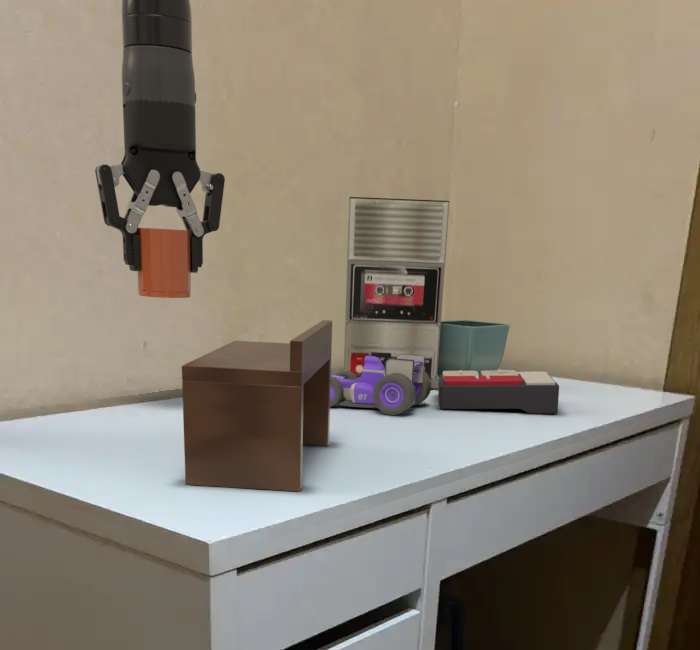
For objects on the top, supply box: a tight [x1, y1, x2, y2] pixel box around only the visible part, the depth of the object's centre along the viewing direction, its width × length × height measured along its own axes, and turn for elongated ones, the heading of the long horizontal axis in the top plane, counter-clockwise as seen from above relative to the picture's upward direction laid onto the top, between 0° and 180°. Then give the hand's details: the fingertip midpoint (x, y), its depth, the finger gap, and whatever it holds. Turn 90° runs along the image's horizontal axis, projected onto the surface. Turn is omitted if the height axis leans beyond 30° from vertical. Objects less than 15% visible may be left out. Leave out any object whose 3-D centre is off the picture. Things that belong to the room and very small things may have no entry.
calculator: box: [437, 369, 560, 415], centre depth 124 cm, size 11×4×15 cm
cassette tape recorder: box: [343, 196, 450, 390], centre depth 133 cm, size 14×6×25 cm, turn 91°
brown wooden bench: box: [181, 319, 333, 492], centre depth 87 cm, size 10×20×12 cm, turn 174°
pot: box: [136, 227, 192, 299], centre depth 104 cm, size 6×6×7 cm
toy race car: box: [330, 354, 432, 416], centre depth 119 cm, size 10×15×6 cm, turn 70°
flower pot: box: [437, 319, 511, 378], centre depth 139 cm, size 9×9×9 cm
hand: (163, 271), depth 105 cm, fingers closed on pot, 6 cm apart
